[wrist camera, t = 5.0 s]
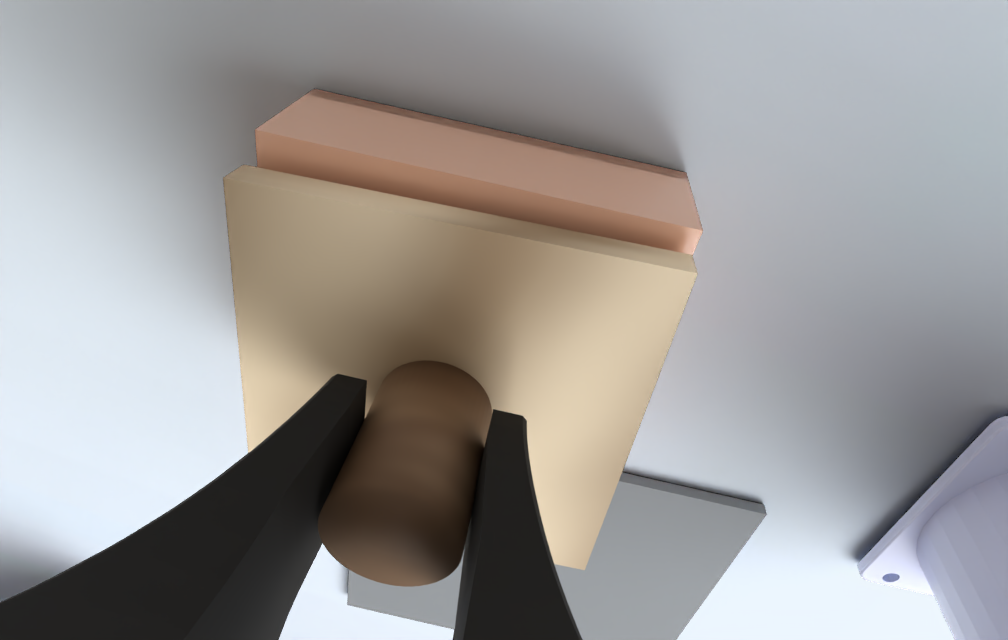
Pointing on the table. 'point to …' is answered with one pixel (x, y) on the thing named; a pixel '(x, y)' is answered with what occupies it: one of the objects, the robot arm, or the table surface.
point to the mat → (617, 565)
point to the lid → (446, 356)
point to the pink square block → (479, 170)
